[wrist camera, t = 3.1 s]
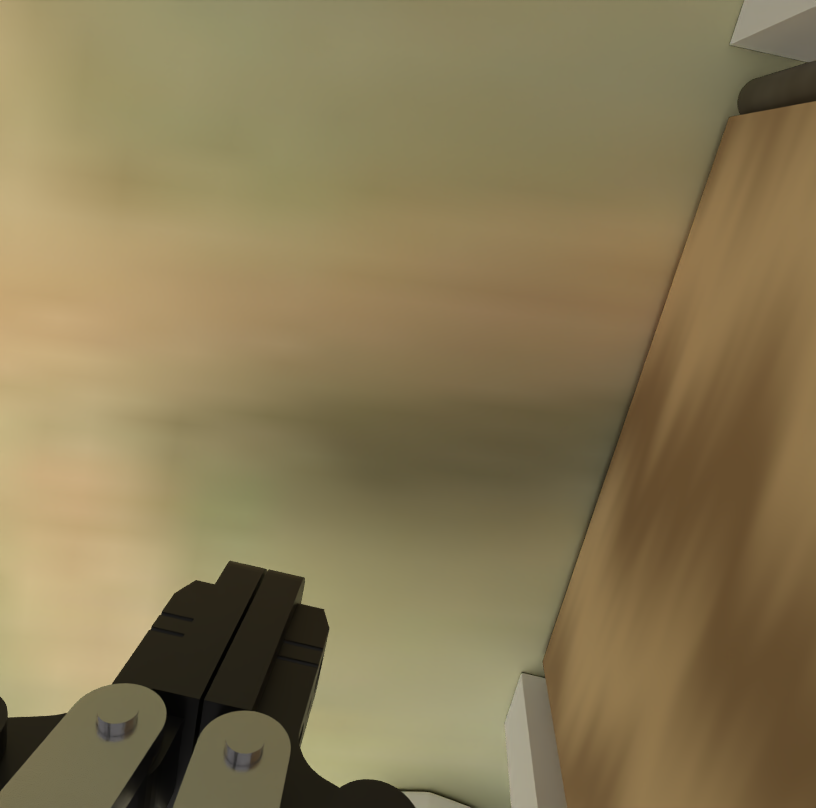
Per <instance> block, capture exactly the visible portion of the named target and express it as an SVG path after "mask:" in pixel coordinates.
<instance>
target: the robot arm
mask: <svg viewBox="0 0 816 808" xmlns="http://www.w3.org/2000/svg"><path fill="white" fill-rule="evenodd" d="M304 584H305V578H304V577H300V576H295V575H291V574H286V573H282V572H278V571H273V570H268V571H267V569H264V568H260V567H255V566H251V565H246V564H242V563H238V562H233V561H229V562H228V564H227V565H226V567H225V569H224V570H223V572H222V574H221V575H220V577H219V579H218V580H217V582H216V583H215V584H210V583H206V582H201V581H197V580H195V581H194V582H192V583H191V584H189V585H187V586H186V587H184V588H182V589H181V590H179V591H178V592H176V593H174V595H173V596H172V598H171V599H170V601H169V602H168V604H167V605H166V606H165V608H164V609H163V611H162V614H161V615H159V617H158V618H157V620H156V621H155V622H154V624H153V625H152V628H151V630H149V631H148V633H147V634H146V635H145V637H144V638H143V640H142V641H141V643H140V644H139V646H138V647H137V648H136V650H135V651H134V653H133V654H132V656H131V657H130V659H129V660H128V662H127V663H126V664H125V666H124V667H123V669H122V670H121V672H120V673H119V675H118V676H117V677H116V679H115V680H114V682H113V683H112V685H107V686H104V687H101V688H98V689H96V690H93V691H91V692H90V693H88V694H86V695H85V696H83V697H82V698H81V699H80V700H79V701H78V702H77V703H76V704H74V706H73V707H72V708H71V709H70V710H69V711H68V713H64V714H59V715H52V716H37V717H13V718H8V712H7V706H6V704H5V702H4V701H3V699H2V698H1V697H0V808H415V806H414V805H413V803H412V802H411V801H410V799H409V798H408V797H407V796H406V795H405V794H404V793H403V792H401V791H400V790H398V789H397V788H396V787H394V786H392V785H390V784H388V783H385V782H382V781H377V780H369V779H363V780H356V781H353V782H350V783H347V784H345V785H343V786H342V787H340V788H339V787H337V786H335V785H334V784H332V783H330V782H329V781H327V780H325V779H324V778H322V777H321V776H319V775H318V774H317V773H316V772H315V771H314V770H313V769H312V768H311V767H310V766H309V765H308V763H307V762H306V760H305V759H304V757H303V755H302V752H301V749H300V747H301V743H302V739H303V736H304V732H305V729H306V725H307V722H308V718H309V714H310V711H311V707H312V704H313V700H314V697H315V693H316V689H317V685H318V680H319V675H320V670H321V666H322V661H323V656H324V652H325V647H326V642H327V637H328V633H329V626H328V622H327V619H326V615H325V612H324V609H320V608H316V607H312V606H307V605H303V604H301V600H302V595H303V590H304Z"/></svg>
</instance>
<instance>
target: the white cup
mask: <svg viewBox="0 0 816 808" xmlns="http://www.w3.org/2000/svg"><path fill="white" fill-rule="evenodd" d="M401 792H403V793H404V794H405V795H406V796H407V797H408V798H409V799H410V801H411V802H412V803H413V805H414V806H415V808H471V807H469V806H466V805H463V804H461V803H458V802H455V801H453V800H450V799H447V798H445V797H442V796H439V795H436V794H433V793H431V792H407V791H401Z"/></svg>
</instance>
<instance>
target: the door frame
mask: <svg viewBox="0 0 816 808" xmlns="http://www.w3.org/2000/svg"><path fill="white" fill-rule="evenodd" d="M730 45H732V46H737V47H741V48H746V49H750V50H755V51H759V52H764V53H768V54H773V55H777V56H782V57H786V58H791V59H795V60H800V61H804V62H812V61H816V0H744V3H743V6H742V9H741V12H740V15H739V18H738V21H737V24H736V27H735V30H734V33H733V36H732V39H731V42H730ZM504 724H505V736H506V748H507V761H508V773H509V786H510V798H511V808H567V804H566V798H565V792H564V786H563V780H562V774H561V768H560V762H559V756H558V750H557V744H556V738H555V732H554V726H553V721H552V715H551V709H550V703H549V697H548V691H547V685H546V679H545V678H542V677H538V676H533V675H529V674H524V673H521V675H520V678H519V681H518V684H517V687H516V690H515V693H514V696H513V699H512V702H511V705H510V708H509V711H508V714H507V717H506V720H505V723H504Z"/></svg>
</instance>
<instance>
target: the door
mask: <svg viewBox="0 0 816 808" xmlns="http://www.w3.org/2000/svg"><path fill="white" fill-rule="evenodd" d="M738 109H739V112H740V114H741V115H738V116H732V117H729V119H728V122H727V125H726V128H725V131H724V134H723V137H722V140H721V142H720V145H719V148H718V151H717V154H716V157H715V160H714V163H713V166H712V169H711V172H710V175H709V177H708V180H707V183H706V186H705V189H704V192H703V195H702V198H701V201H700V204H699V207H698V210H697V212H696V215H695V218H694V221H693V224H692V227H691V230H690V233H689V236H688V239H687V242H686V245H685V247H684V250H683V253H682V256H681V259H680V262H679V265H678V268H677V271H676V274H675V277H674V280H673V283H672V285H671V288H670V291H669V294H668V297H667V300H666V303H665V306H664V309H663V312H662V315H661V318H660V320H659V323H658V326H657V329H656V332H655V335H654V338H653V341H652V344H651V347H650V350H649V353H648V355H647V358H646V361H645V364H644V367H643V370H642V373H641V376H640V379H639V382H638V385H637V388H636V390H635V393H634V396H633V399H632V402H631V405H630V408H629V411H628V414H627V417H626V420H625V423H624V425H623V428H622V431H621V434H620V437H619V440H618V443H617V446H616V449H615V452H614V455H613V458H612V460H611V463H610V466H609V469H608V472H607V475H606V478H605V481H604V484H603V487H602V490H601V493H600V496H599V498H598V501H597V504H596V507H595V510H594V513H593V516H592V519H591V522H590V525H589V528H588V531H587V533H586V536H585V539H584V542H583V545H582V548H581V551H580V554H579V557H578V560H577V563H576V566H575V568H574V571H573V574H572V577H571V580H570V583H569V586H568V589H567V592H566V595H565V598H564V601H563V603H562V606H561V609H560V612H559V615H558V618H557V621H556V624H555V627H554V630H553V633H552V636H551V638H550V641H549V644H548V647H547V650H546V653H545V656H544V659H543V667H544V673H545V679H546V685H547V691H548V697H549V703H550V709H551V715H552V721H553V726H554V732H555V738H556V744H557V750H558V756H559V762H560V768H561V774H562V780H563V786H564V792H565V798H566V804H567V808H816V61H812V62H809V63H805V64H802V65H799V66H795V67H792V68H789V69H785V70H782V71H779V72H775V73H772V74H769V75H765V76H762V77H759V78H755V79H753V80H751V81H750V82H748V83H747V84H746V85H745V86H744V87H743V89H742V90H741V92H740V94H739V97H738Z"/></svg>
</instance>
